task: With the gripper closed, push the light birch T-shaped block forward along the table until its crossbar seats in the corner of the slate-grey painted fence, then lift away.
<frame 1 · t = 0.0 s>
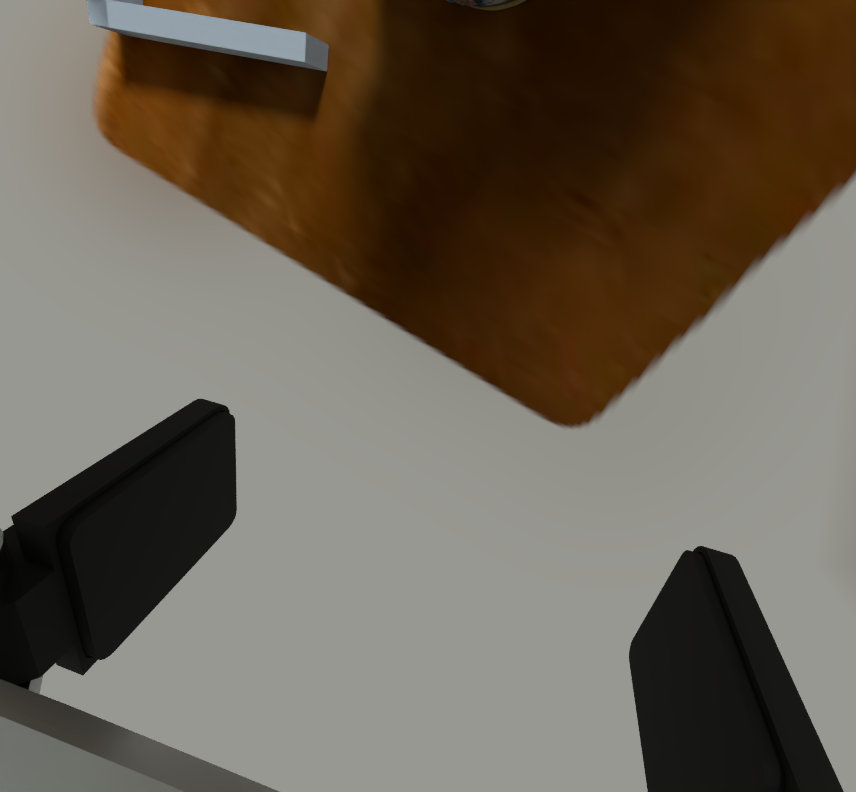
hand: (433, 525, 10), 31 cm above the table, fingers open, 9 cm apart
fence: (224, 40, 36), on the table
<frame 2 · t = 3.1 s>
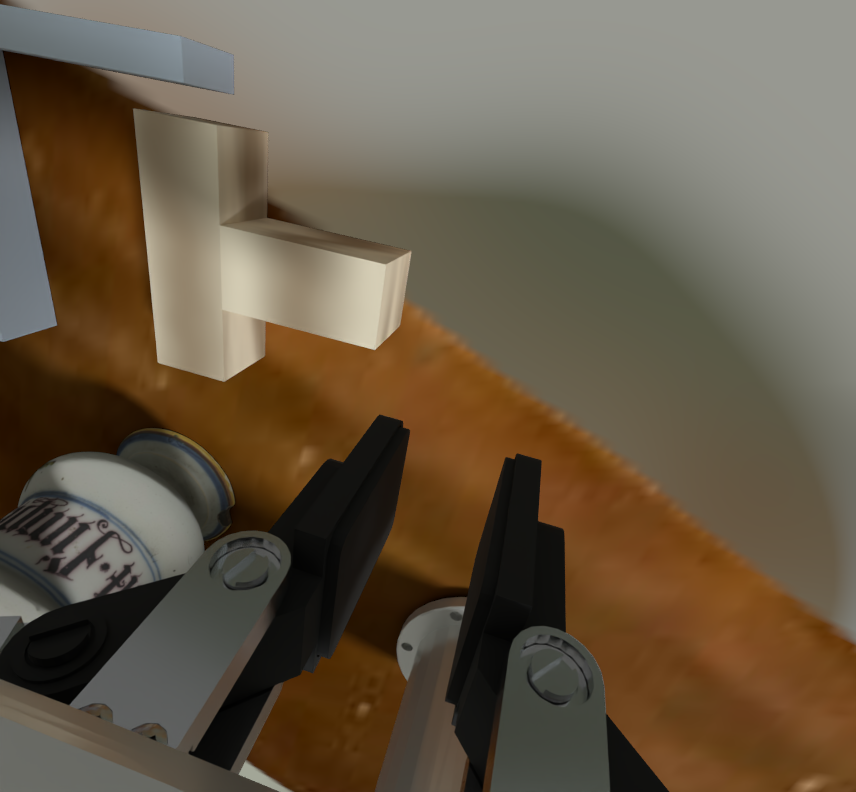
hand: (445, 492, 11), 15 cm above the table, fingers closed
t block: (300, 264, 26), on the table
apothecary jar: (179, 483, 36), on the table
fence: (18, 187, 28), on the table
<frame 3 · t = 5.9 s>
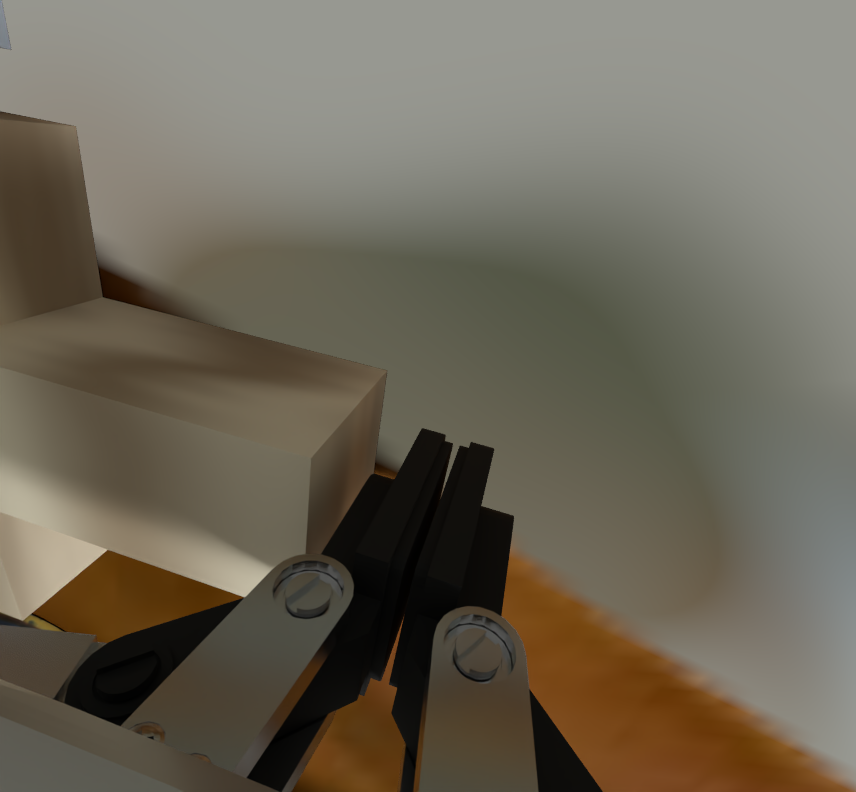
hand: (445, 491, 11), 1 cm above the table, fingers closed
t block: (175, 382, 13), on the table, touching gripper
apothecary jar: (54, 675, 23), on the table
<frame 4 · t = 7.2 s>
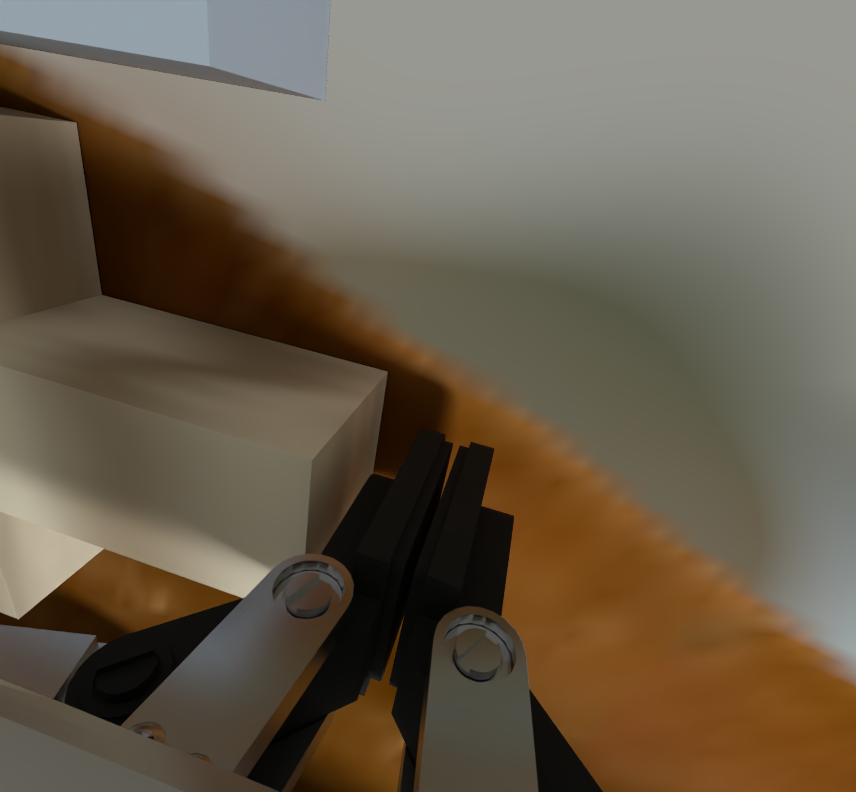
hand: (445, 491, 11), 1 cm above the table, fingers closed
t block: (174, 381, 13), on the table, touching gripper
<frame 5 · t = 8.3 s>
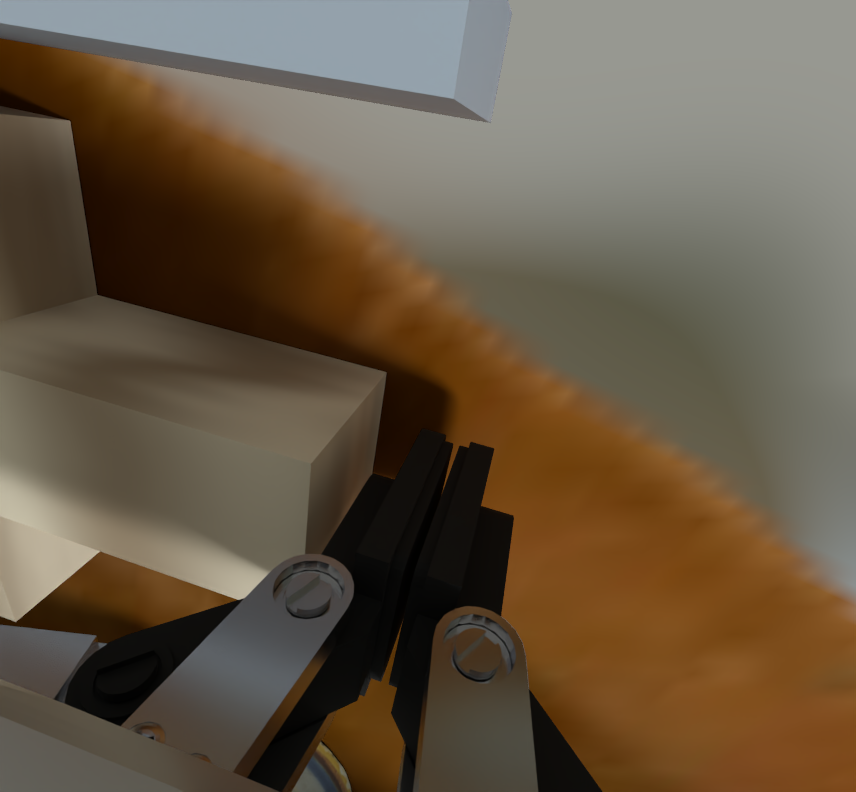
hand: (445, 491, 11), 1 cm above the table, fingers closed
t block: (171, 382, 13), on the table, touching fence, gripper
apothecary jar: (253, 753, 22), on the table
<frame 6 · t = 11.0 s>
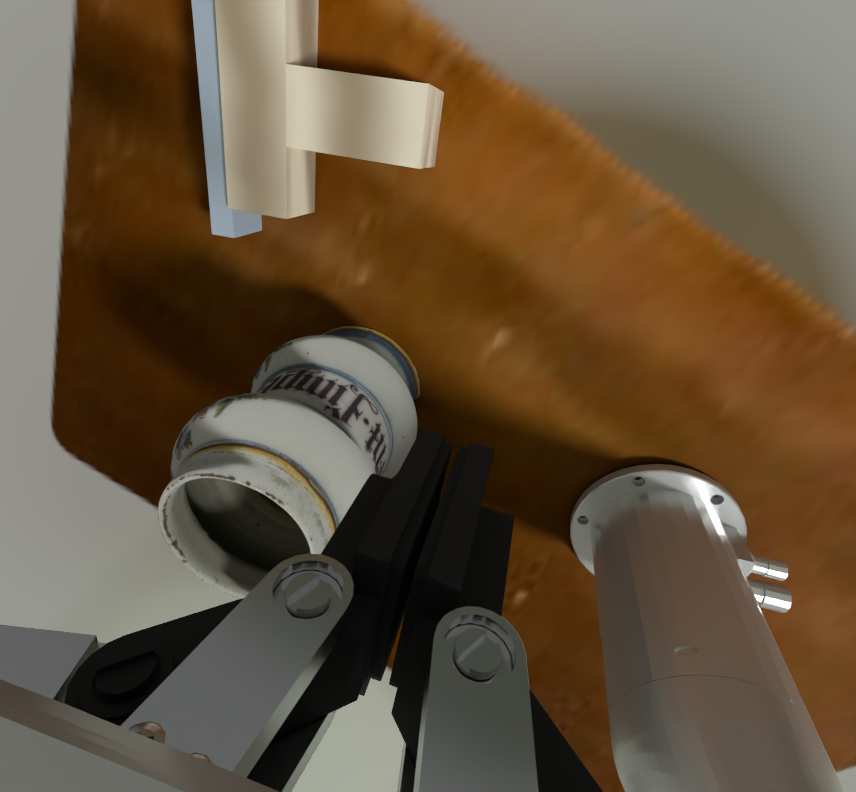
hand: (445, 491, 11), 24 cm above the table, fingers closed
t block: (346, 116, 30), on the table
apothecary jar: (362, 382, 39), on the table
fence: (245, 92, 30), on the table
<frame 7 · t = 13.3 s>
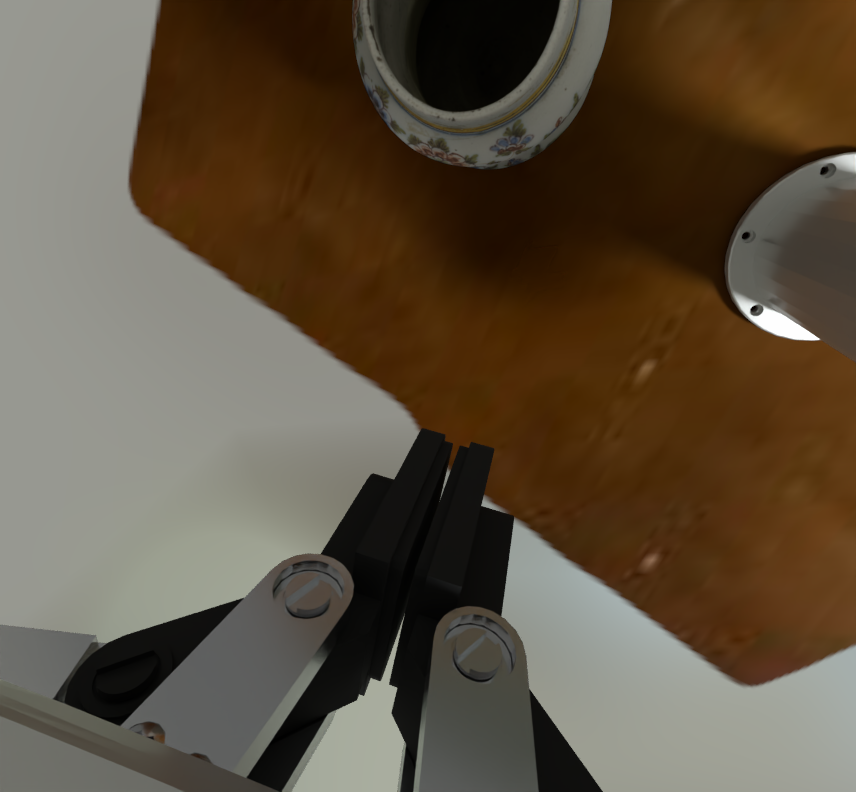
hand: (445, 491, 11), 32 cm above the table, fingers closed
apothecary jar: (504, 76, 34), on the table
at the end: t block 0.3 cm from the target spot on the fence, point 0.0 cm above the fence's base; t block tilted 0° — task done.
